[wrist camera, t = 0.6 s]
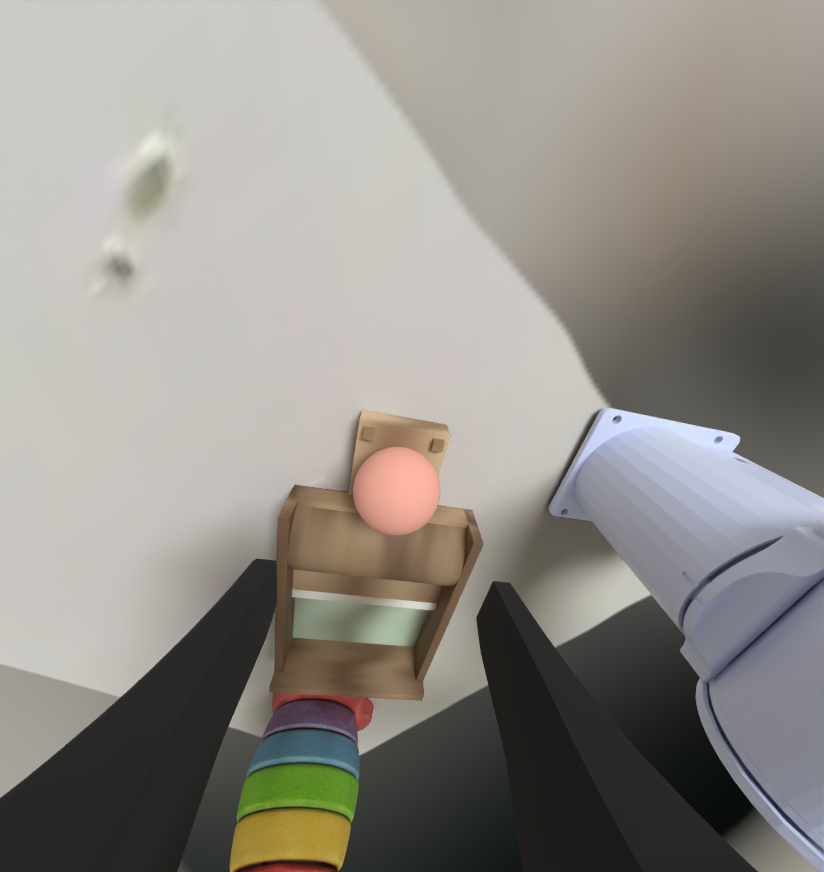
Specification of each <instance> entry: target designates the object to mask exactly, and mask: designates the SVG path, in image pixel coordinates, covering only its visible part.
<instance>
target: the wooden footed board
mask: <svg viewBox="0 0 824 872" xmlns="http://www.w3.org/2000/svg"><path fill="white" fill-rule="evenodd" d="M449 439H450V433H449V430H448V427H447V425H444V424H438V423H433V422H427V421H422V420H416V419H411V418H405V417H400V416H394V415H389V414H383V413H378V412H372V411H367V410H362V412H361V416H360V420H359V426H358V433H357V439H356V446H355V452H354V459H353V466H352V472H351V479H350V485H349V492H348V495H353V486H354V480H355V477H356V474H357V472H358V470H359V469H360V467H361V465H362V464H363V463H364V462H365V460H367V459H368V458H369V457H370V456H371V455H373V454H374V453H376V452H378V451H380V450H382V449H385V448H389V447H405V448H409V449H412V450H414V451H416V452H418V453H420V454H422V455H423V456H424V457H425V458H426V459H427V460H428V461H429V462H430V463H431V464H432V466H433V467H434V469H435V470H436V473H437V475H439V471H440V468H441V465H442V462H443V458H444V455H445V452H446V449H447V445H448V442H449Z"/></svg>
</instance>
